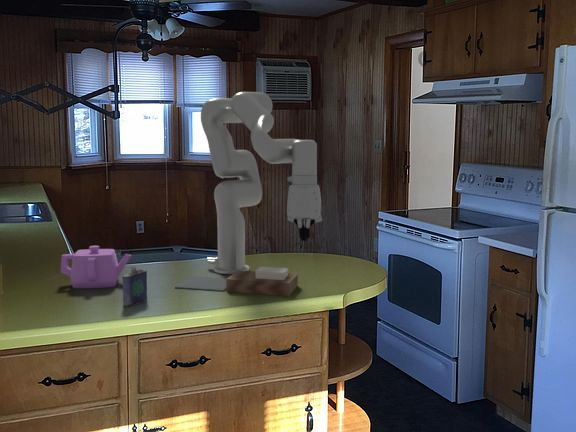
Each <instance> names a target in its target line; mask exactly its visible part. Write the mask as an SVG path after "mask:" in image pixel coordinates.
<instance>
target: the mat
mask: <svg viewBox="0 0 576 432" xmlns="http://www.w3.org/2000/svg"><path fill="white" fill-rule="evenodd" d="M226 279H227V278H221V277H219V278H218V277H208V276H207V277H204V276H203V277H202V276H189V277H188V278H186V279H185V280H183V281H182V282H180V283H178V284H177V285H176V286H175V287H174V289H182V290H185V289H186V290H195V291H196V290H198V291H211V292H225V291H227V289H226Z"/></svg>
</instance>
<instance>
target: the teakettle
mask: <svg viewBox="0 0 576 432" xmlns="http://www.w3.org/2000/svg"><path fill="white" fill-rule="evenodd" d="M131 257H132V254H128V253H125V254H124V256H123V257H122V259H121V260H120V261H119V263H118V257H117V254H116V250H115V249H114V248H100V246H99V245H90V246H89V248H88V249H78V250H77V251H76V252H75V253H67V254H66V253H65V254H62V255H61V258H60V259H61V260H60V272H61V273H62V274H64V275H65V276H68V277H70V283H71V286H72V288H73V289H99V288H100V289H102V288H114V287H115V286H116V285H117V283H118V280H119V276H120V275H121V273H122V272H123V269H124V268H125V266H126V265H127V263H128V262H129V260H130V258H131ZM69 260H72V262H71V267H70V266H69Z"/></svg>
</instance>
